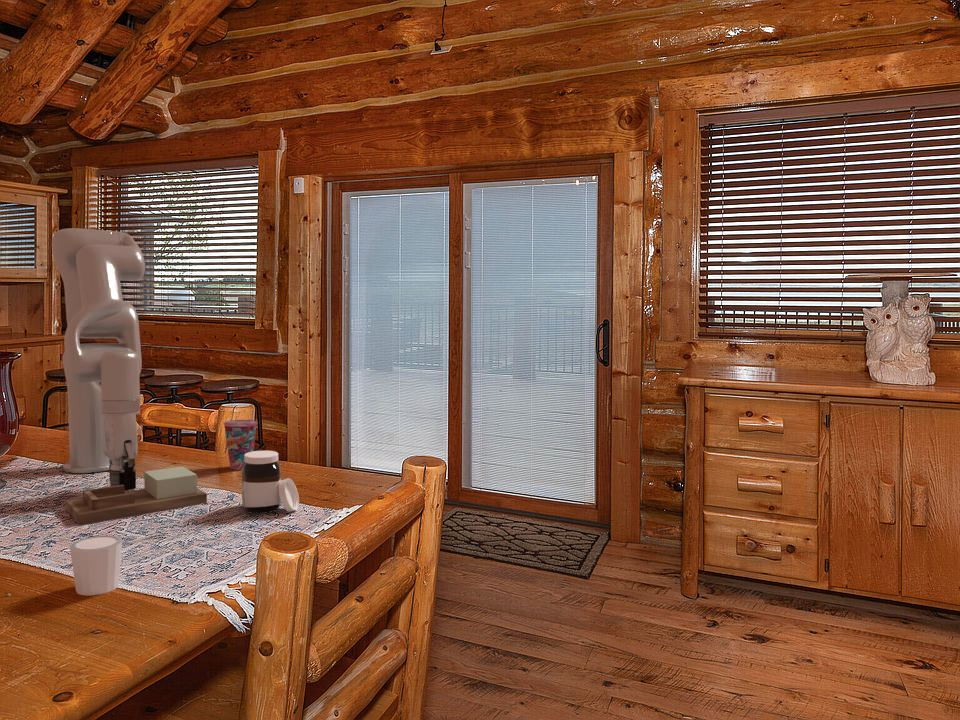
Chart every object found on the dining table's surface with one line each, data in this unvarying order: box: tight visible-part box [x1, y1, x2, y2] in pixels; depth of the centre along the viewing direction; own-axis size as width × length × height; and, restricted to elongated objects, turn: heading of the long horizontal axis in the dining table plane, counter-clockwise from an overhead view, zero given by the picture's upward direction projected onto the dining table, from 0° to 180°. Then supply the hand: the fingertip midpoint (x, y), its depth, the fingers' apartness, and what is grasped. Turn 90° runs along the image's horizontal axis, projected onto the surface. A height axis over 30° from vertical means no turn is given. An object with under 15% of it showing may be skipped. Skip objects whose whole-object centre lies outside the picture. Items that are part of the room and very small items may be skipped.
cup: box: [223, 419, 259, 471], centre depth 175 cm, size 9×8×12 cm
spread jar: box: [241, 450, 300, 514], centre depth 142 cm, size 12×11×12 cm
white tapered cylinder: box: [69, 535, 123, 596], centre depth 102 cm, size 7×7×7 cm
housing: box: [65, 485, 208, 526], centre depth 142 cm, size 12×24×4 cm, turn 132°
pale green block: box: [143, 466, 198, 499], centre depth 146 cm, size 9×8×4 cm
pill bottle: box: [109, 456, 136, 491], centre depth 150 cm, size 5×5×8 cm
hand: (122, 485), depth 151 cm, fingers open, 7 cm apart
